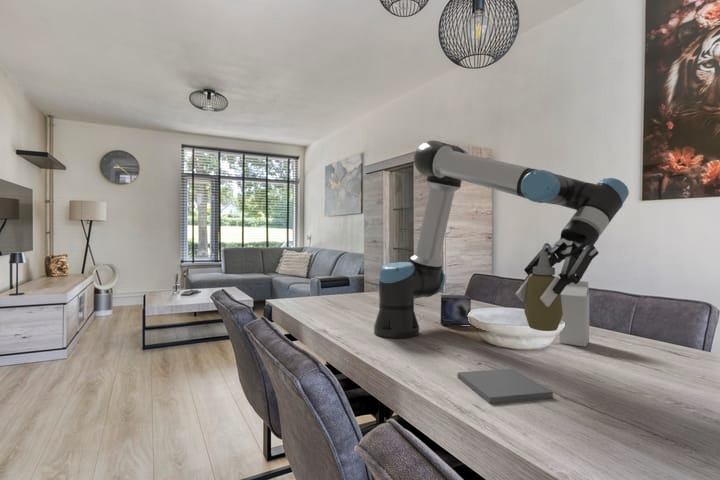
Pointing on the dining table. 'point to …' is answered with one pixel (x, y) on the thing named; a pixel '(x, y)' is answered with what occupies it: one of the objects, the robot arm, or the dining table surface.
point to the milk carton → (575, 314)
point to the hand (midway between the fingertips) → (531, 299)
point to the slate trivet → (504, 385)
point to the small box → (455, 309)
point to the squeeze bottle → (534, 307)
